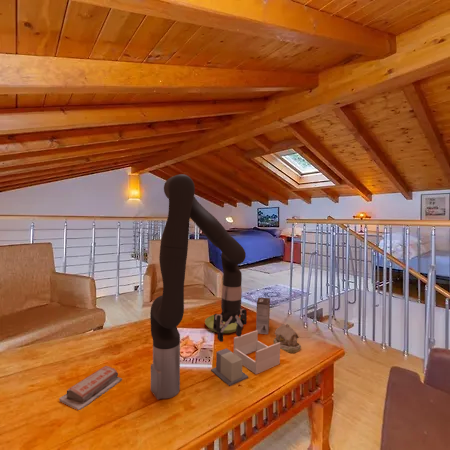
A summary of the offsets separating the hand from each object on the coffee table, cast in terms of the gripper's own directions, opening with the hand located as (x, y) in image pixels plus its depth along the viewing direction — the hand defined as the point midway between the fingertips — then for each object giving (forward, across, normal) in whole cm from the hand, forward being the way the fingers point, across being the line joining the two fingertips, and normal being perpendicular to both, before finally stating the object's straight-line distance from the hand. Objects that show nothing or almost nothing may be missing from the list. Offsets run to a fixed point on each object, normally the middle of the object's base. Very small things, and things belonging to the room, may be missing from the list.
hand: (229, 338), depth 111 cm
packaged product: (+16, -44, +20) cm, 51 cm away
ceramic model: (+14, +37, +3) cm, 40 cm away
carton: (+14, +16, +1) cm, 21 cm away
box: (+14, 0, 0) cm, 14 cm away
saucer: (+14, +24, +36) cm, 46 cm away
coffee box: (+14, +38, +21) cm, 46 cm away
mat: (+14, +1, 0) cm, 15 cm away
